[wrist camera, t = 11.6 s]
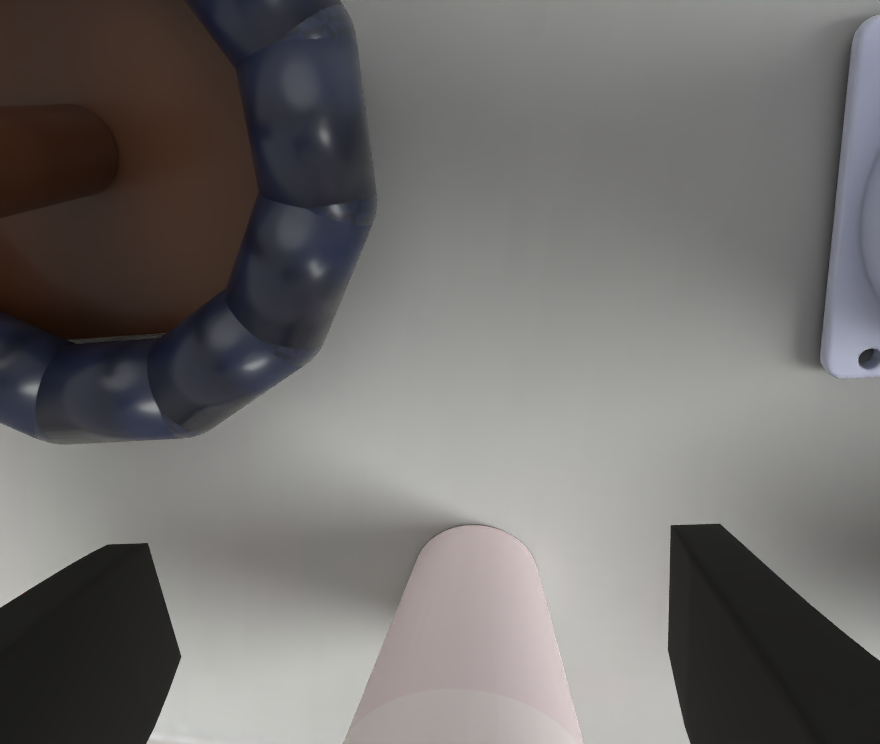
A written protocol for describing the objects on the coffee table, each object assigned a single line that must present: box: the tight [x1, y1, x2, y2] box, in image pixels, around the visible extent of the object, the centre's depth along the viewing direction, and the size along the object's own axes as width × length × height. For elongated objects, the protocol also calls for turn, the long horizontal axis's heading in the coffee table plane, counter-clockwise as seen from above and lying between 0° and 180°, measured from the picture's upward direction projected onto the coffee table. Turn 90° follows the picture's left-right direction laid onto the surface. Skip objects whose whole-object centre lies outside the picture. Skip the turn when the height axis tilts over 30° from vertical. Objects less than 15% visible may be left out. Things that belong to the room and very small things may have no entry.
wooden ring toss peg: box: [0, 0, 259, 341], centre depth 14 cm, size 9×9×7 cm
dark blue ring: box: [0, 0, 377, 444], centre depth 15 cm, size 13×13×2 cm
